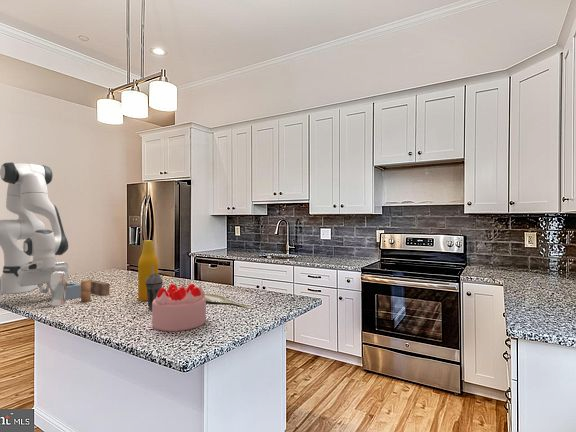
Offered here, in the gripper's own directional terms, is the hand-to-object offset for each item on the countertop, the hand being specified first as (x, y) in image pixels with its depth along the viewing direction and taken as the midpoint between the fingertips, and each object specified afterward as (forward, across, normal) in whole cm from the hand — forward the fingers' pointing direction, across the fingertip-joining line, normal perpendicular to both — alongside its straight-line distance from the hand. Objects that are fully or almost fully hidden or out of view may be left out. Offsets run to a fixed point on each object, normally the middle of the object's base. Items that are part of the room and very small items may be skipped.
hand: (44, 292), depth 164 cm
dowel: (+5, -12, +16) cm, 20 cm away
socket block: (+4, -10, 0) cm, 11 cm away
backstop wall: (+4, -24, +2) cm, 24 cm away
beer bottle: (+5, -32, +36) cm, 48 cm away
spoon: (+6, -47, +73) cm, 88 cm away
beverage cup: (+5, -22, +54) cm, 58 cm away
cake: (+6, -15, +80) cm, 81 cm away
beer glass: (+5, -2, +11) cm, 12 cm away
